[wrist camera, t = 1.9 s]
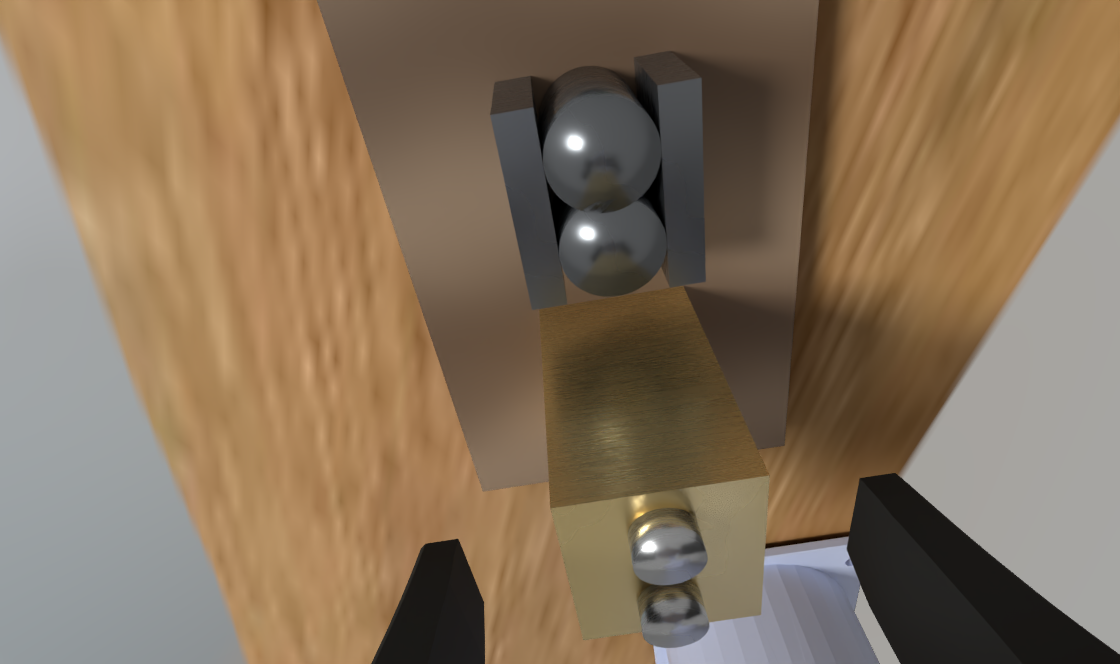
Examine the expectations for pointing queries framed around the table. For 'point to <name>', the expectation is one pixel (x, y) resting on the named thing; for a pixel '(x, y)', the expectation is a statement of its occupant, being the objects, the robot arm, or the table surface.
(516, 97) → the steel ball guide
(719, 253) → the board
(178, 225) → the table surface
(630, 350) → the brushed brass block
